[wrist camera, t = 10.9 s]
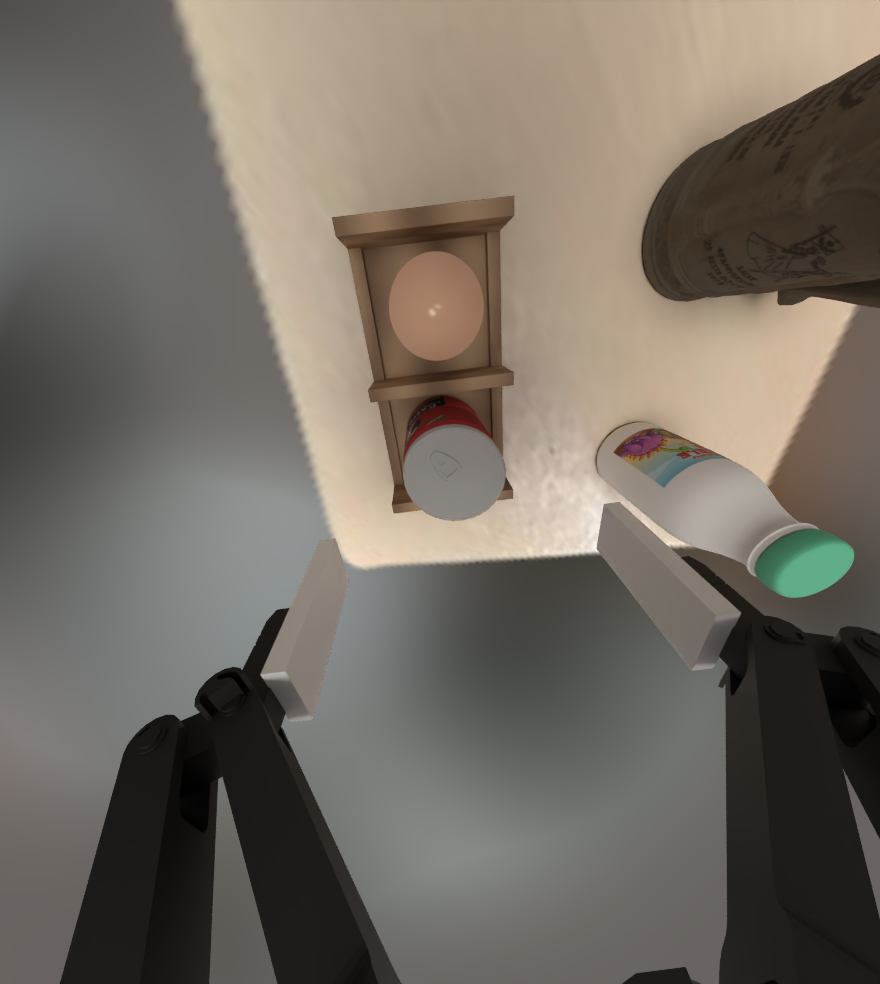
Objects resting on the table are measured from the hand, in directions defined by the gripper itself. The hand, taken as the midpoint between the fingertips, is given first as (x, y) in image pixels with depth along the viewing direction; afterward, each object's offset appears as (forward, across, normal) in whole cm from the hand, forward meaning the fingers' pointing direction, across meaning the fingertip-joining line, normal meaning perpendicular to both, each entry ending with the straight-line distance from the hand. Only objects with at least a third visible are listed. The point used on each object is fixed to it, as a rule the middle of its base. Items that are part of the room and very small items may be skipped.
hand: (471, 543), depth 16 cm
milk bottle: (+21, +21, -6) cm, 30 cm away
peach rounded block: (+20, 0, +10) cm, 22 cm away
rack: (+21, 0, +5) cm, 21 cm away
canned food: (+20, 0, -1) cm, 20 cm away
